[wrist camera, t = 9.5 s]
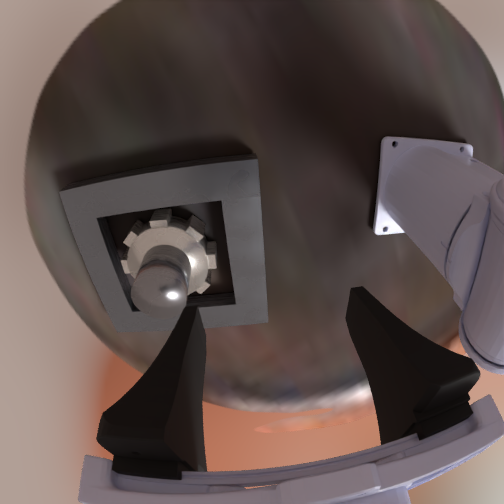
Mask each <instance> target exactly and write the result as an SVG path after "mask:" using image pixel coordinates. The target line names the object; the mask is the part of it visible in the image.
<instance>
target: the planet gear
mask: <svg viewBox="0 0 504 504" xmlns="http://www.w3.org/2000/svg"><path fill="white" fill-rule="evenodd" d="M204 231H205V223H203V222H202V221H201V220H199V219H198V218H197V217H195V216H194V215H192V216H191V217H190V218H189V219H188V220H185V219H183V218H180V217H175V216H172V210H171V208H170V209H159V210H155V211H154V213H153V215H152V217H151V219H150V220H149V221H148V222H146V223H145V224H144V223H142V222H141V221H140V220H137V221H136V223H135V224H134V225H133V227H132V228H131V229H130V231H129V233H128V235H127V236H126V238H125V240H124V242H123V243H124V244H126V245H127V246H129V247H127V249H126V251H125V253H124V255H123V257H122V259H121V263H122V266H123V269H124V273H131V275H132V277H133V278H134V279H135V281H134V283H133V286H132V289H131V298H132V301H133V303H134V304H135V306H136V307H137V308H138V309H139V310H140V311H141V312H143V313H144V314H146V315H148V316H150V317H154V318H158V319H169V318H173V317H175V316H177V315H179V314H180V313H182V311H183V309H184V307H185V306H186V301H187V295H189V294H191V293H193V292H195V291H197V292H198V293H200V294H201V293H202V292H204V291H205V290H206V289H207V288H208V287H209V286H210V284H211V270H210V269H217V248H216V241H213V242H208V241H207V239H206V237H205V235H204Z"/></svg>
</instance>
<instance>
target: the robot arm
mask: <svg viewBox="0 0 504 504" xmlns="http://www.w3.org/2000/svg"><path fill="white" fill-rule="evenodd" d="M393 141H395V145H394V146H392V142H393ZM460 148H461V150H460ZM472 154H473V147H472V146H471V145H469V144H466V143H458V142H450V141H441V140H431V139H420V138H406V137H389V136H387V137H384V138H383V139H382V141H381V154H380V168H379V179H378V190H377V199H376V208H375V216H374V224H373V231H374V233H375V234H377V235H384V234H394V233H406V234H407V235H408V236H409V237H410V238H411V240H412V241H413V242H414V243H415V244H416V245H417V246H418V247H419V249H420V250H421V251H422V252H423V253H424V254H425V255H426V257H427V258H428V259H429V260H430V261H431V262H432V264H433V265H434V266H435V267H436V268H437V270H438V271H439V272H440V273H441V274H442V276H443V277H444V278H445V279H446V281H447V282H448V283H449V284H450V286H451V287H452V288H453V290H454V297H453V299H454V301H455V302H456V303H457V305H458V306H459V307H460V309H461V310H462V311H463V312H462V314H461V317H460V320H459V336H460V340H461V343H462V346H463V348H464V350H465V351H466V353H467V354H468V356H469V357H470V358H469V357H466V356H463V355H460V354H457V353H455V352H453V351H450V350H448V349H446V348H444V347H442V346H440V345H438V344H436V343H434V342H432V341H431V340H429V339H427V338H425V337H424V336H422V335H421V334H419V333H418V332H416V331H415V330H413V329H412V328H410V327H409V326H408V325H406V324H405V323H404V322H402V321H401V320H400V319H399V318H397V317H396V316H395V315H394V314H393V313H391V312H390V311H389V310H388V309H387V308H386V307H385V306H383V305H382V304H381V303H380V302H379V301H378V300H377V299H376V298H375V297H374V296H373V295H371V294H370V293H369V292H368V291H367V290H366V289H365V288H364V287H363V286H361V287H355V288H351V290H350V296H349V302H348V307H347V313H346V322H347V326H348V329H349V333H350V336H351V338H352V341H353V343H354V346H355V348H356V350H357V353H358V355H359V358H360V360H361V362H362V365H363V367H364V369H365V372H366V375H367V378H368V381H369V385H370V388H371V392H372V396H373V400H374V405H375V409H376V414H377V420H378V425H379V431H380V440H381V445H380V446H377V447H374V448H370V449H367V450H363V451H359V452H355V453H351V454H348V455H344V456H339V457H334V458H330V459H326V460H320V461H315V462H309V463H303V464H297V465H291V466H283V467H275V468H267V469H256V470H242V471H220V472H207V466H206V457H205V446H204V432H203V411H202V410H203V409H202V396H203V384H204V373H205V363H206V334H205V330H204V326H203V323H202V319H201V315H200V312H199V308H198V306H188V307H184V309H183V311H182V313H181V315H180V317H179V319H178V321H177V323H176V325H175V327H174V329H173V331H172V333H171V334H170V336H169V338H168V340H167V342H166V343H165V345H164V346H163V348H162V350H161V351H160V353H159V354H158V356H157V357H156V359H155V360H154V362H153V363H152V364H151V366H150V367H149V368H148V370H147V371H146V372H145V373H144V375H143V376H142V377H141V378H140V379H139V380H138V382H137V383H136V384H135V385H134V386H133V387H132V388H131V389H130V390H129V391H128V392H127V393H126V394H125V395H124V396H123V397H122V398H121V399H120V400H118V401H117V402H116V403H115V404H114V405H112V406H111V407H110V408H108V409H107V410H106V411H105V412H103V414H102V417H101V419H100V423H99V428H98V433H97V438H96V439H97V441H98V443H99V444H100V445H101V446H102V447H104V448H105V449H106V450H108V451H109V452H110V453H112V454H113V455H114V458H113V461H112V460H109V459H105V458H100V457H94V456H89V455H85V456H84V462H83V468H82V475H81V481H80V488H79V496H78V501H79V502H81V503H83V504H411V502H410V498H409V495H408V491H407V490H409V489H411V488H414V487H416V486H419V485H421V484H423V483H425V482H427V481H430V480H432V479H434V478H436V477H438V476H440V475H442V474H444V473H446V472H448V471H450V470H451V469H453V468H455V467H457V466H459V465H460V464H462V463H464V462H466V461H467V460H469V459H471V458H473V457H474V456H476V455H477V454H479V453H481V452H482V451H484V450H485V449H487V448H488V447H489V446H491V445H492V444H493V443H495V442H496V441H497V440H499V439H500V438H501V437H502V436H504V421H503V419H502V417H501V415H500V413H499V411H498V408H497V407H496V404H495V403H494V401H493V399H492V397H491V395H487V396H485V397H484V398H482V399H480V400H478V401H476V402H474V403H473V404H471V405H469V403H468V401H469V400H470V396H469V394H468V392H469V391H470V390H471V389H472V387H473V386H474V385H475V384H476V382H477V381H478V379H479V377H480V371H479V369H478V367H477V366H476V364H477V365H479V366H480V367H481V368H484V369H485V370H487V371H490V372H492V373H496V374H504V175H503V174H502V173H500V172H498V171H496V170H495V169H493V168H491V167H489V166H488V165H486V164H484V163H482V162H480V161H478V160H476V159H475V158H473V157H472ZM384 227H386V228H385V229H384V230H383V228H384ZM475 363H476V364H475ZM274 484H277V485H274ZM265 485H271V486H265ZM253 486H265V487H259V488H252V489H246V488H244V487H253Z"/></svg>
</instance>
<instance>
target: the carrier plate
mask: <svg viewBox="0 0 504 504" xmlns="http://www.w3.org/2000/svg"><path fill="white" fill-rule="evenodd" d="M59 194H60V197H61V200H62V203H63V206H64V209H65V212H66V215H67V218H68V221H69V224H70V227H71V229H72V232H73V235H74V238H75V240H76V243H77V245H78V248H79V250H80V253H81V255H82V258H83V260H84V263H85V265H86V268H87V270H88V272H89V274H90V277H91V279H92V281H93V284H94V286H95V288H96V290H97V292H98V294H99V296H100V299H101V301H102V303H103V305H104V307H105V309H106V311H107V313H108V315H109V317H110V319H111V321H112V323H113V325H114V327H115V328H116V330H117V332H141V331H166V330H173V329H174V327H175V325H176V323H177V321H178V319H179V317H180V315H181V313H180V314H179V315H177V316H175V317H173V318H169V319H158V318H154V317H150V316H148V315H146V314H144V313H143V312H141V311H140V310H139V309H138V308H137V307H136V306H135V304H134V303H133V301H132V298H131V287H130V284H129V282H128V279H127V276H126V274H125V273H124V269H123V266H122V263H121V260H120V257H119V255H118V252H117V249H116V246H115V243H114V240H113V237H112V234H111V231H110V228H109V225H108V221H107V218H106V216H111V215H117V214H123V213H129V212H136V211H143V210H150V209H157V208H164V207H171V206H179V205H186V204H195V203H203V202H211V201H220V200H221V201H222V209H223V216H224V223H225V231H226V238H227V245H228V252H229V259H230V266H231V273H232V280H233V287H234V293H224V294H213V295H201V296H189V297H187V301H186V306H185V307H188V306H198V308H199V312H200V315H201V319H202V323H203V326H204V328H214V327H226V326H237V325H248V324H258V323H267V322H268V309H267V292H266V275H265V259H264V243H263V228H262V213H261V198H260V184H259V170H258V159H257V156H256V153H254V154H243V155H233V156H224V157H215V158H207V159H199V160H192V161H185V162H178V163H171V164H165V165H159V166H153V167H147V168H141V169H136V170H131V171H126V172H120V173H116V174H111V175H106V176H101V177H97V178H92V179H88V180H84V181H80V182H76V183H71V184H68V185H67V186H66V187H64V188H63V189H62V190H61V191H60V192H59Z"/></svg>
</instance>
